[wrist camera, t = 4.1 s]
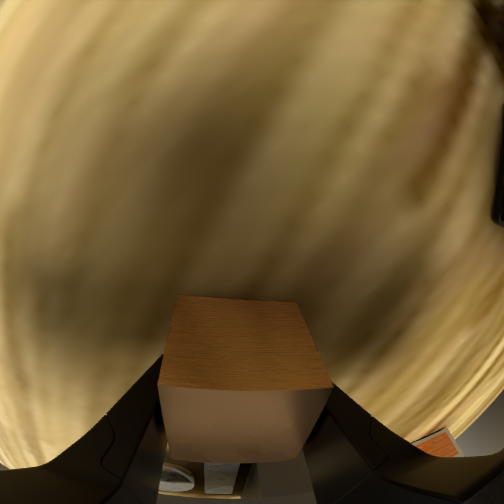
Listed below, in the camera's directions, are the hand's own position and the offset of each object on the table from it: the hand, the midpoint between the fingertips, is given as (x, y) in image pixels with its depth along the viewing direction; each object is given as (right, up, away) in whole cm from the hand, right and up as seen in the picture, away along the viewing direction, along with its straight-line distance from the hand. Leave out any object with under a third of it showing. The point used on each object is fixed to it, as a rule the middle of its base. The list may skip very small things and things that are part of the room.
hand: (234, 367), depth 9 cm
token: (-6, -13, +6) cm, 15 cm away
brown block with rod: (-1, -6, +3) cm, 7 cm away
